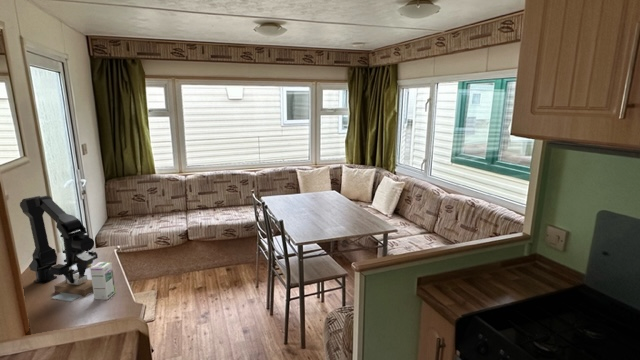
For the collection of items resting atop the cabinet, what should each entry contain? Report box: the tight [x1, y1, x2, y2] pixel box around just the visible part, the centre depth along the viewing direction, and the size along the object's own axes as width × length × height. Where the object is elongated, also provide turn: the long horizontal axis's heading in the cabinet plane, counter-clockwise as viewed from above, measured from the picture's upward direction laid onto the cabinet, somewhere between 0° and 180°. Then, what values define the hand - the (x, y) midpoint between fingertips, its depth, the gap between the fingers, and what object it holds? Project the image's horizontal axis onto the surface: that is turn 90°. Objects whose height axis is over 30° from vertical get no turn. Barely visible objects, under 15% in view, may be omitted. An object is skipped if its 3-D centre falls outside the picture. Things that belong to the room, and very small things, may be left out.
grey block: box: [65, 273, 88, 285], centre depth 153 cm, size 6×4×2 cm
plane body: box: [53, 279, 94, 297], centre depth 154 cm, size 16×8×3 cm, turn 77°
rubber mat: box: [51, 292, 82, 303], centre depth 147 cm, size 10×5×1 cm, turn 77°
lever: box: [64, 264, 92, 282], centre depth 159 cm, size 12×2×5 cm, turn 161°
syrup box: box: [89, 261, 116, 301], centre depth 147 cm, size 6×6×14 cm
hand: (77, 280), depth 153 cm, fingers closed on grey block, 4 cm apart
